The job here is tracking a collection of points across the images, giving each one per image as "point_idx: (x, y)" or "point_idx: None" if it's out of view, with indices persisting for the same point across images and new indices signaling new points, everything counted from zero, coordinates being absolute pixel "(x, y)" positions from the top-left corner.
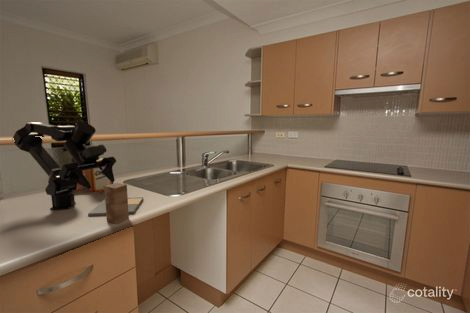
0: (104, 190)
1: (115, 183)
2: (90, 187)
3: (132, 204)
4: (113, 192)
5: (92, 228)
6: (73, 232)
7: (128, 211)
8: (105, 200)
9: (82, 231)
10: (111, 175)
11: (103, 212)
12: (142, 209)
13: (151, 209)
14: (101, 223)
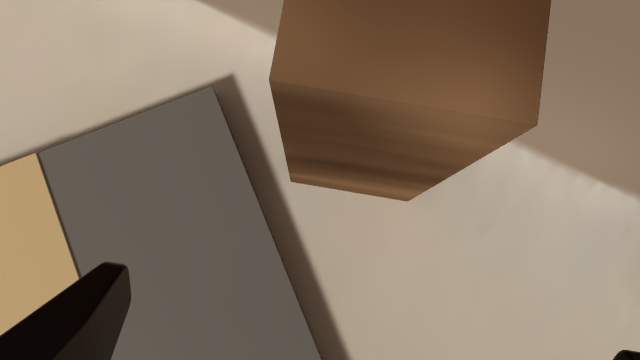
0: (509, 140)
1: (315, 67)
2: (633, 353)
3: (55, 206)
4: None
5: (534, 220)
6: (628, 306)
7: (225, 126)
8: (459, 167)
9: (594, 254)
10: (49, 353)
11: (303, 337)
12: (107, 80)
13: (90, 4)
14: (445, 220)
